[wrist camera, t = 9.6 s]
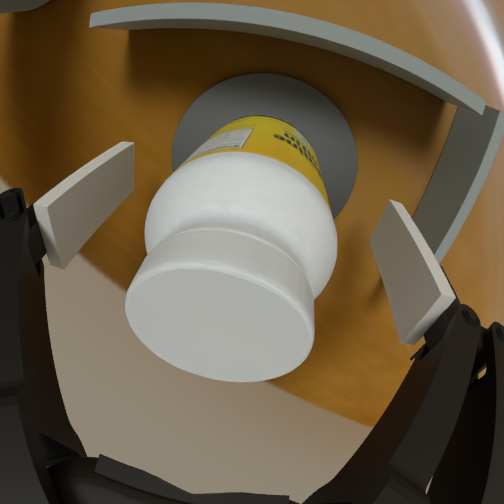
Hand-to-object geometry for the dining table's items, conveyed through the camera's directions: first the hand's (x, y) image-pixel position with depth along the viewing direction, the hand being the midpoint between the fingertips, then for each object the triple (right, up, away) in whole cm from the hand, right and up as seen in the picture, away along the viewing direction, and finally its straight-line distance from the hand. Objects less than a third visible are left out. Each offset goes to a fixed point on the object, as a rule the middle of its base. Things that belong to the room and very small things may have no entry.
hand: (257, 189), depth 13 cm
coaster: (0, +2, +3) cm, 3 cm away
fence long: (+2, +8, -2) cm, 9 cm away
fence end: (+11, +1, +2) cm, 12 cm away
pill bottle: (0, +2, +3) cm, 3 cm away
